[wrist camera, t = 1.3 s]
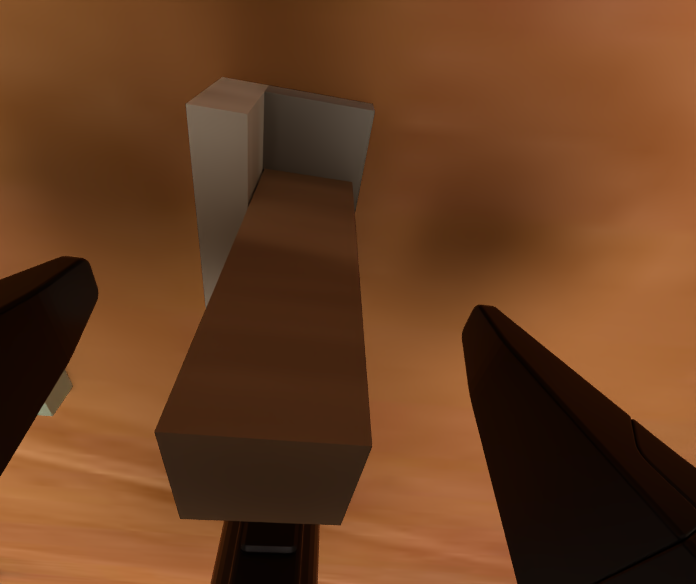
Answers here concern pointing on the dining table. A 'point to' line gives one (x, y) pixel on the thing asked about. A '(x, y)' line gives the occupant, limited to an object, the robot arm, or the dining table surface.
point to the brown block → (273, 311)
